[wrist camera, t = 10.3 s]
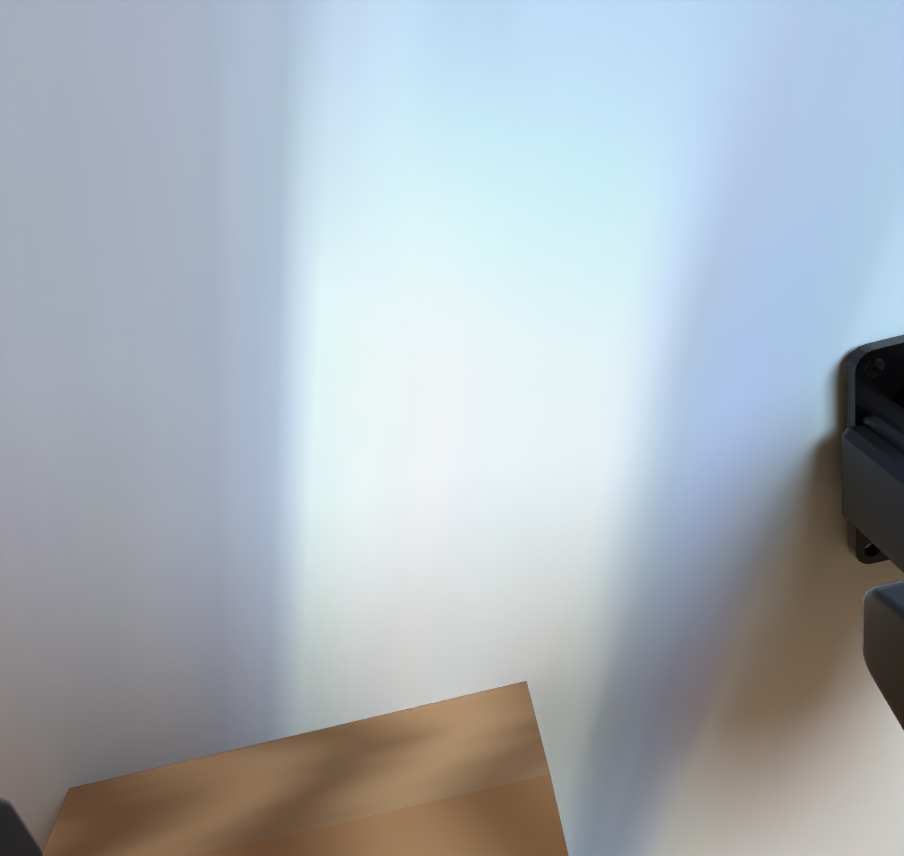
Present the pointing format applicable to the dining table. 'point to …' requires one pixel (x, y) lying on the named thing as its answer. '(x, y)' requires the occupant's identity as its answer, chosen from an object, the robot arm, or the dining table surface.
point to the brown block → (340, 792)
